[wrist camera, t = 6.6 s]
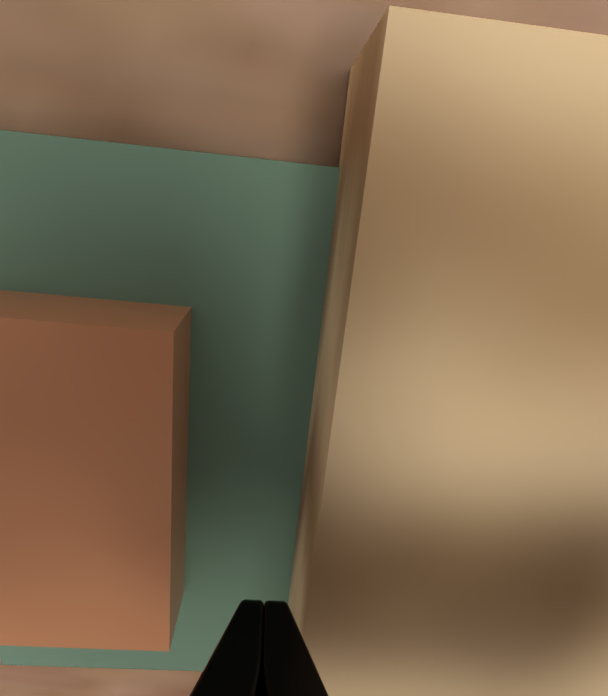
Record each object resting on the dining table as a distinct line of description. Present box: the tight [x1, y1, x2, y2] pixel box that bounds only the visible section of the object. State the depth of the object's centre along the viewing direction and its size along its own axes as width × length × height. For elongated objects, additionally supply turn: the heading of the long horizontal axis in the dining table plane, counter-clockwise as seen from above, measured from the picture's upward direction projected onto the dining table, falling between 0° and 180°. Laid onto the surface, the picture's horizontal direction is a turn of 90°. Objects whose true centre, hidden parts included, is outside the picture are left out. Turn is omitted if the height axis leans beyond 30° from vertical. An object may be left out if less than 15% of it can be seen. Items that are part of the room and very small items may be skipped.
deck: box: [288, 6, 608, 696], centre depth 12 cm, size 20×11×4 cm, turn 174°
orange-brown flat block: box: [0, 290, 191, 651], centre depth 12 cm, size 9×6×2 cm, turn 174°
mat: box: [0, 130, 340, 671], centre depth 13 cm, size 16×9×1 cm, turn 174°
